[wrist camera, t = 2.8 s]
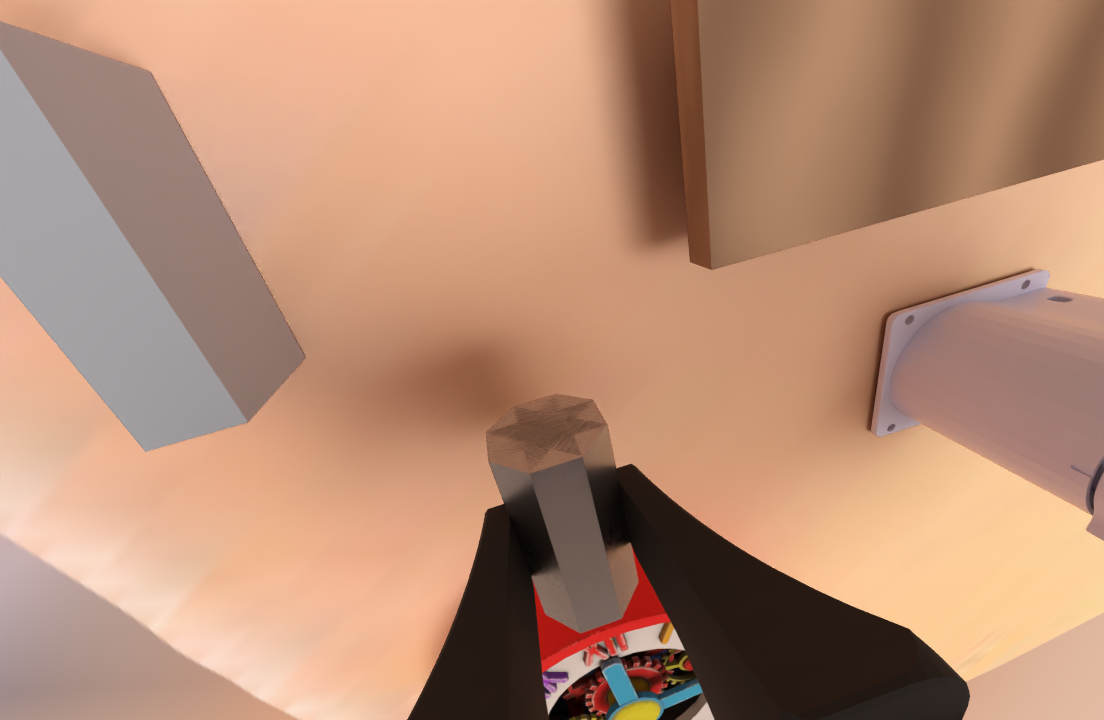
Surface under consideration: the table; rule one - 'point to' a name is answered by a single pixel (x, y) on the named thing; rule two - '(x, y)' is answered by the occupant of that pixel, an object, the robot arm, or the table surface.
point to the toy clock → (620, 666)
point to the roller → (566, 507)
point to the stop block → (129, 246)
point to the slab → (873, 110)
